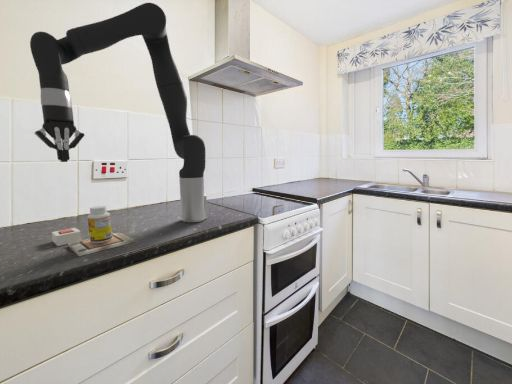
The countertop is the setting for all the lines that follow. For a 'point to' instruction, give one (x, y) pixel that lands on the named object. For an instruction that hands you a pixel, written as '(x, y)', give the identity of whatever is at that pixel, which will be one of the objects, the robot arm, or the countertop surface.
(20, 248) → the countertop surface
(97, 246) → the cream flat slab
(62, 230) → the button
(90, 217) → the supplement bottle
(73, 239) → the button housing
